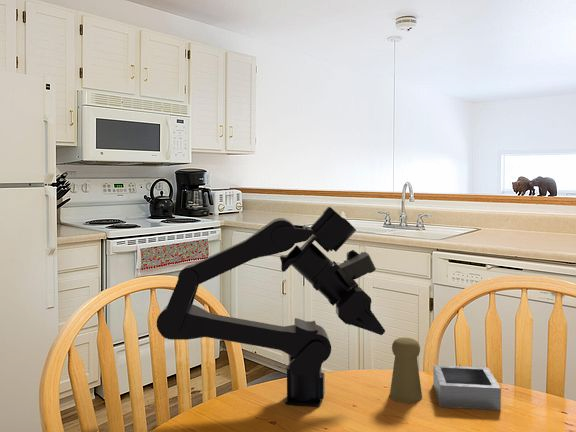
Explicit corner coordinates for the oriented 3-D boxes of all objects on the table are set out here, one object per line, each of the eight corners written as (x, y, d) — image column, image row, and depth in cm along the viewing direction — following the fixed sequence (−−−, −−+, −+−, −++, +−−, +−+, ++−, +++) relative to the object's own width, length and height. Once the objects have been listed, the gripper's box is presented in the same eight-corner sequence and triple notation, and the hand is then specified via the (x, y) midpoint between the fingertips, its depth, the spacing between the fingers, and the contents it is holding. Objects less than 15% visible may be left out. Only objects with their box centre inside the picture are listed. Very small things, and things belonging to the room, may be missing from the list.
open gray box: (440, 406, 93) (440, 385, 93) (433, 384, 103) (433, 365, 103) (500, 410, 91) (500, 388, 91) (487, 387, 102) (487, 367, 101)
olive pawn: (423, 403, 95) (423, 344, 94) (389, 401, 96) (389, 343, 95) (421, 390, 101) (421, 335, 100) (389, 388, 102) (389, 333, 101)
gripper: (357, 244, 86) (422, 307, 88) (341, 233, 105) (395, 285, 106) (311, 292, 87) (377, 354, 88) (303, 273, 105) (357, 324, 106)
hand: (378, 326), depth 97 cm, fingers open, 9 cm apart
